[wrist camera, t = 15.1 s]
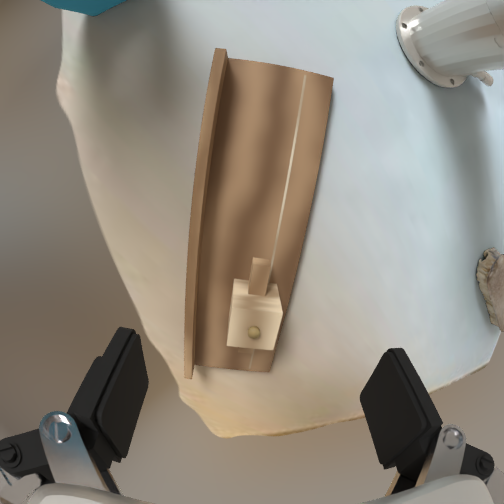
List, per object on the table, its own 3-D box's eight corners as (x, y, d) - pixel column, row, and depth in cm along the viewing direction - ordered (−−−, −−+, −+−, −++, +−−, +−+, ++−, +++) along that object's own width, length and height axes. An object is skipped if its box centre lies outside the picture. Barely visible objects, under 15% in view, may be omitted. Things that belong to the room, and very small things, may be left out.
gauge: (282, 256, 31) (291, 285, 24) (264, 339, 35) (267, 375, 29) (238, 250, 30) (236, 278, 24) (226, 335, 35) (223, 371, 29)
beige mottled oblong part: (510, 303, 39) (523, 314, 34) (491, 327, 41) (503, 340, 36) (491, 236, 32) (510, 247, 28) (468, 268, 34) (485, 281, 30)
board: (329, 80, 25) (343, 71, 20) (268, 365, 39) (270, 387, 35) (219, 61, 24) (215, 48, 19) (189, 356, 38) (184, 378, 34)
